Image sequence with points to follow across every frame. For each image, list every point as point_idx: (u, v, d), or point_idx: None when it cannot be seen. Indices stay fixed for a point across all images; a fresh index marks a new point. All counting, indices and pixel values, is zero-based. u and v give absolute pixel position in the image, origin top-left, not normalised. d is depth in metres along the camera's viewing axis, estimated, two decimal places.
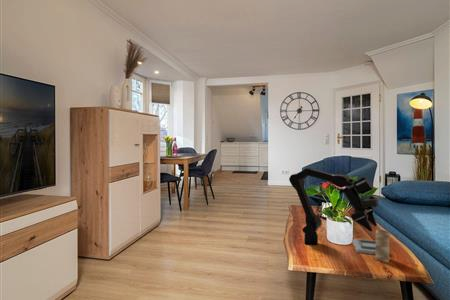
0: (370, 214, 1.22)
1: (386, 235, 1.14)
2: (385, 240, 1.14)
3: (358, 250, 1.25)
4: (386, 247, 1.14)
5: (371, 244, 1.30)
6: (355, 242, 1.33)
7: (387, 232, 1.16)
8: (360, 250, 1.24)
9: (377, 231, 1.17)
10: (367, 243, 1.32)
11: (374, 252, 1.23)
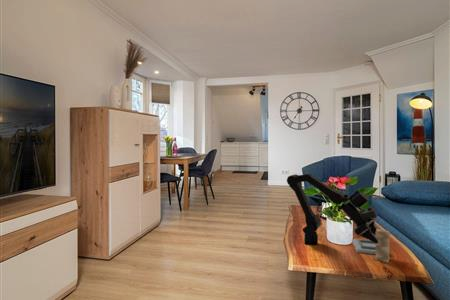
0: (372, 226, 1.24)
1: (386, 235, 1.14)
2: (385, 240, 1.14)
3: (358, 250, 1.25)
4: (386, 247, 1.14)
5: (371, 244, 1.30)
6: (355, 242, 1.33)
7: (387, 232, 1.16)
8: (360, 250, 1.24)
9: (377, 231, 1.17)
10: (367, 243, 1.32)
11: (374, 252, 1.23)
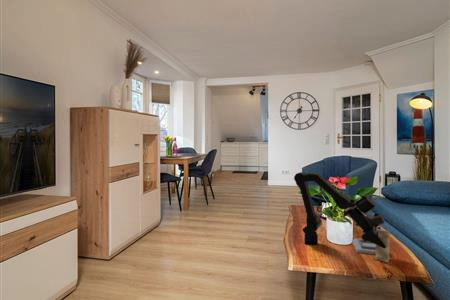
0: None
1: (386, 235, 1.14)
2: (385, 239, 1.14)
3: (358, 250, 1.25)
4: (386, 247, 1.14)
5: (371, 244, 1.30)
6: (355, 242, 1.33)
7: (387, 232, 1.16)
8: (360, 250, 1.24)
9: (377, 231, 1.18)
10: (367, 243, 1.32)
11: (374, 252, 1.23)
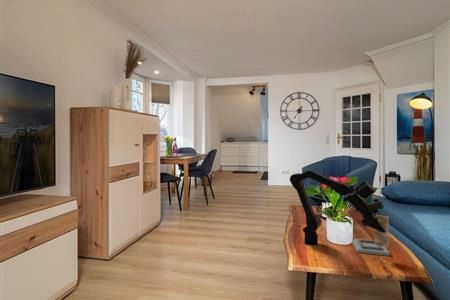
0: None
1: (386, 220, 1.14)
2: (384, 224, 1.15)
3: (358, 250, 1.25)
4: (385, 232, 1.14)
5: (371, 244, 1.30)
6: (355, 242, 1.33)
7: (387, 217, 1.17)
8: (360, 250, 1.24)
9: (377, 216, 1.18)
10: (367, 243, 1.32)
11: (374, 252, 1.23)
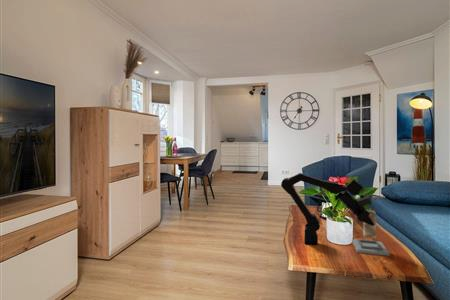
0: None
1: (374, 213, 1.26)
2: (373, 218, 1.26)
3: (358, 250, 1.25)
4: (374, 224, 1.26)
5: (371, 244, 1.30)
6: (355, 242, 1.33)
7: (373, 211, 1.29)
8: (360, 250, 1.24)
9: None
10: (367, 243, 1.32)
11: (374, 252, 1.23)
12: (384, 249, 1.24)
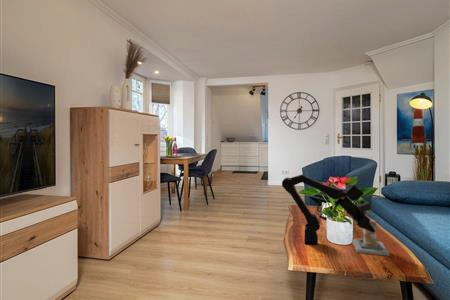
0: None
1: (374, 223, 1.26)
2: (373, 227, 1.26)
3: (358, 250, 1.25)
4: (374, 234, 1.26)
5: None
6: (355, 242, 1.33)
7: (373, 220, 1.29)
8: (360, 250, 1.24)
9: None
10: None
11: (374, 252, 1.23)
12: (384, 249, 1.24)
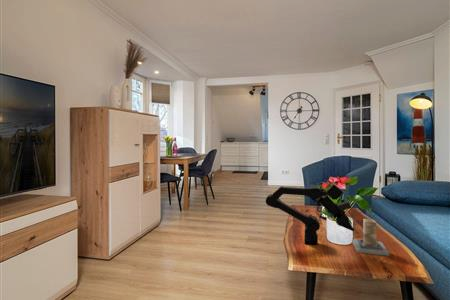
0: None
1: (374, 223, 1.26)
2: (373, 227, 1.26)
3: (358, 250, 1.25)
4: (374, 234, 1.26)
5: None
6: (355, 242, 1.33)
7: (373, 220, 1.29)
8: (360, 250, 1.24)
9: (365, 220, 1.29)
10: None
11: (374, 252, 1.23)
12: (384, 249, 1.24)
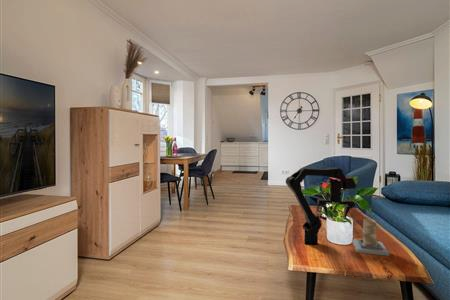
0: None
1: (374, 223, 1.26)
2: (373, 227, 1.26)
3: (358, 250, 1.25)
4: (374, 234, 1.26)
5: None
6: (355, 242, 1.33)
7: (373, 220, 1.29)
8: (360, 250, 1.24)
9: (365, 220, 1.29)
10: None
11: (374, 252, 1.23)
12: (384, 249, 1.24)
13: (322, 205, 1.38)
